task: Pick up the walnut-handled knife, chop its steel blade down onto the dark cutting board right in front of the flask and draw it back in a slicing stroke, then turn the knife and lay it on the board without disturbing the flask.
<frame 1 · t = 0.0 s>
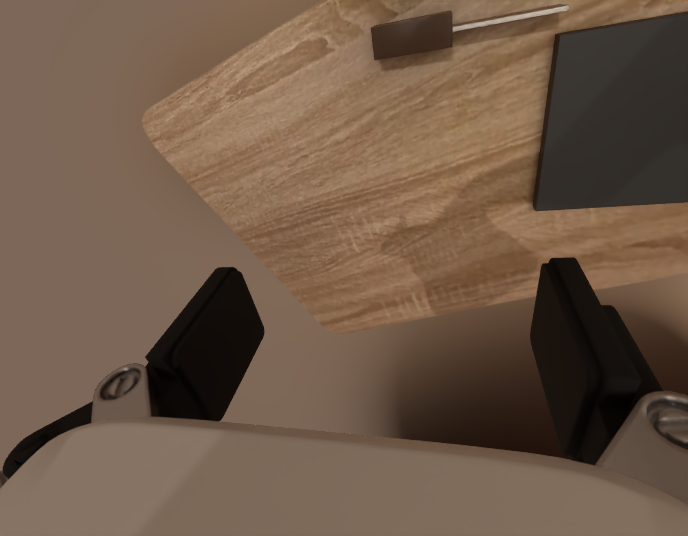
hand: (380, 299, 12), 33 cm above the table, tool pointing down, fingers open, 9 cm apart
board: (627, 121, 36), on the table
knife: (456, 26, 34), on the table
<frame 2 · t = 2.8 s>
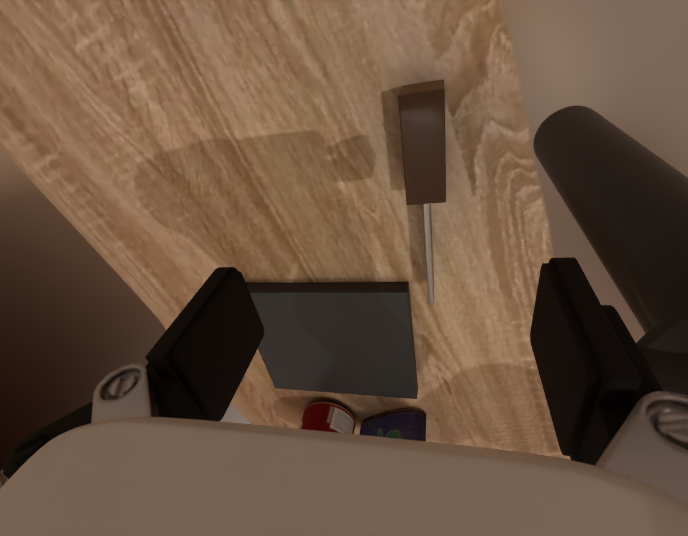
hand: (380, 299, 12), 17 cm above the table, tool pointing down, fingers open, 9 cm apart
board: (333, 338, 39), on the table
knife: (427, 192, 27), on the table
soda can: (331, 411, 48), on the table
flask: (392, 417, 46), on the table
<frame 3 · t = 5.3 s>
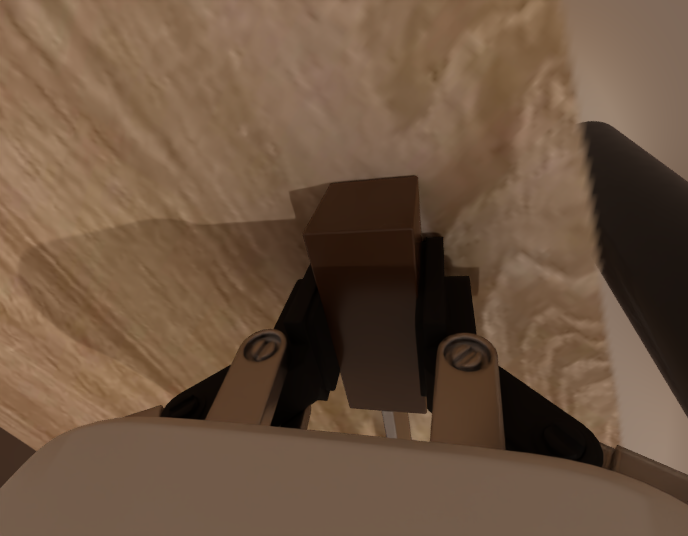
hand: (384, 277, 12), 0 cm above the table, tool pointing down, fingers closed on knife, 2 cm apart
knife: (395, 352, 15), on the table, touching gripper
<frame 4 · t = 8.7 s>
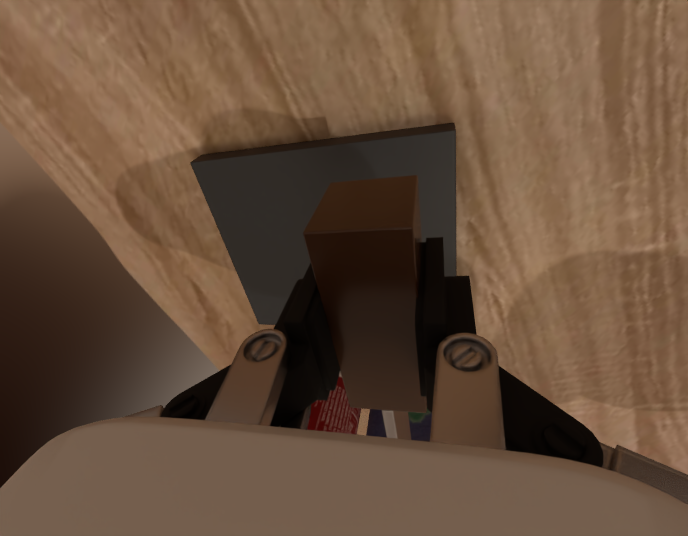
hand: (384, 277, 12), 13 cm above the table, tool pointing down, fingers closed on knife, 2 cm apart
board: (337, 240, 27), on the table
knife: (395, 352, 15), point 13 cm above the table, touching gripper
soda can: (335, 360, 36), on the table
flask: (416, 363, 34), on the table
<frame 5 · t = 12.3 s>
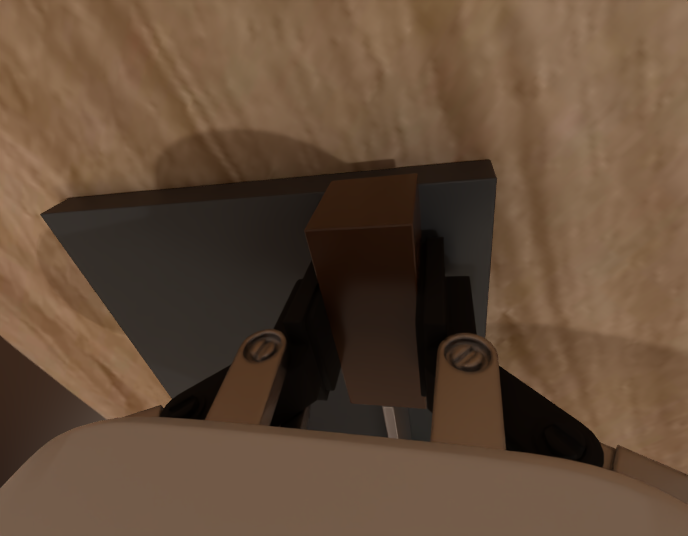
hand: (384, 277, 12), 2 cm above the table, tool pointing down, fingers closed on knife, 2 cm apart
board: (294, 326, 18), on the table
knife: (396, 349, 15), point 2 cm above the table, touching gripper
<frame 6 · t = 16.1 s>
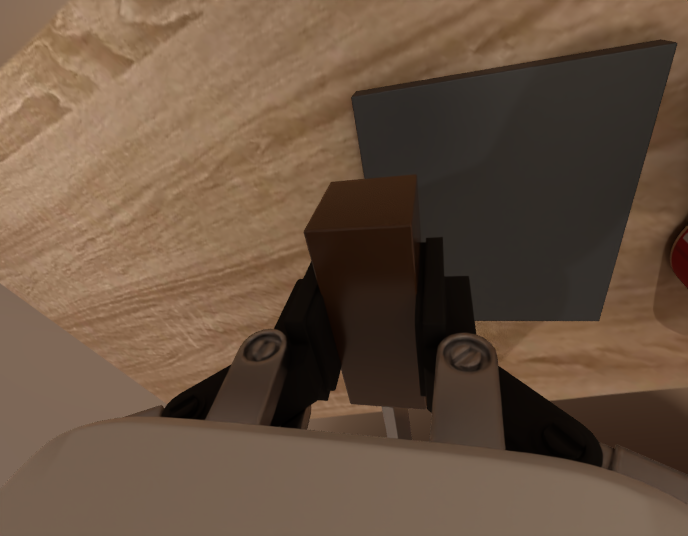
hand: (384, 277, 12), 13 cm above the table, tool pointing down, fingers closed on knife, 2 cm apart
board: (487, 211, 24), on the table
knife: (395, 349, 15), point 13 cm above the table, touching gripper
when the fingers open (2 cm above the table, at t = 19.1 s): knife stays where it is, resting on board.
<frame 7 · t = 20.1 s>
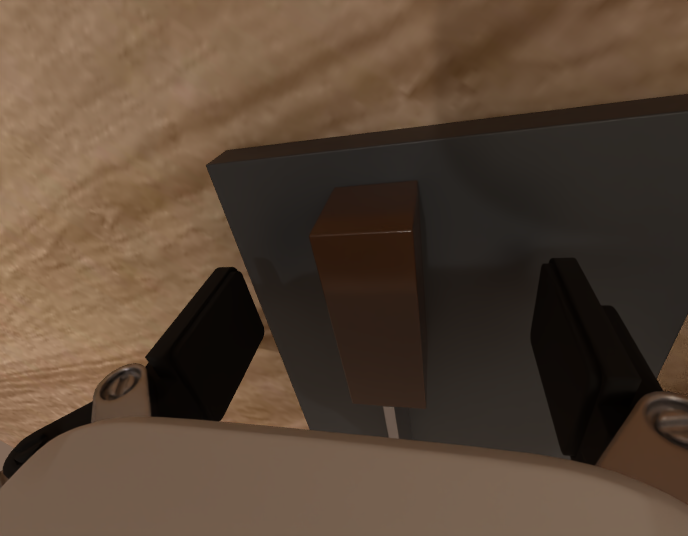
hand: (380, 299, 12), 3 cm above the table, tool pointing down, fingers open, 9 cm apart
board: (445, 324, 16), on the table
knife: (396, 351, 15), point 1 cm above the table, touching board
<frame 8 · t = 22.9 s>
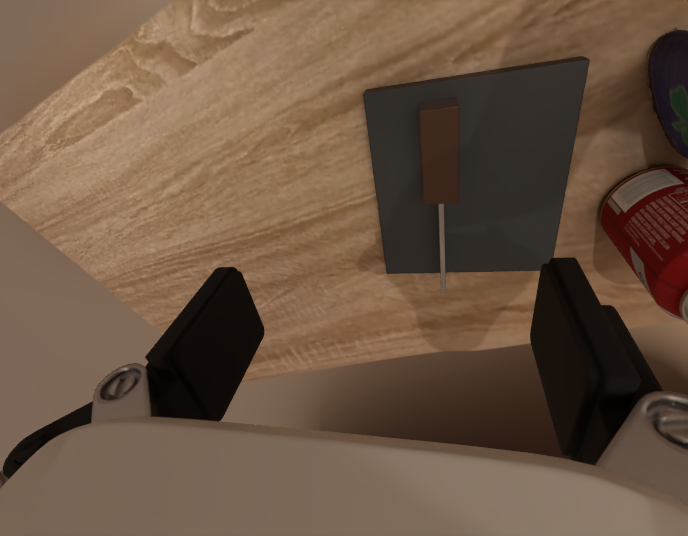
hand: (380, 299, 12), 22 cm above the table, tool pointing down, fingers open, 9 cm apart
board: (464, 183, 31), on the table
knife: (440, 193, 31), point 1 cm above the table, touching board
soda can: (644, 202, 30), on the table
flask: (678, 96, 25), on the table
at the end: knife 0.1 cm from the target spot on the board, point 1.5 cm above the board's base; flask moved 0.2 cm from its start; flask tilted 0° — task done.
